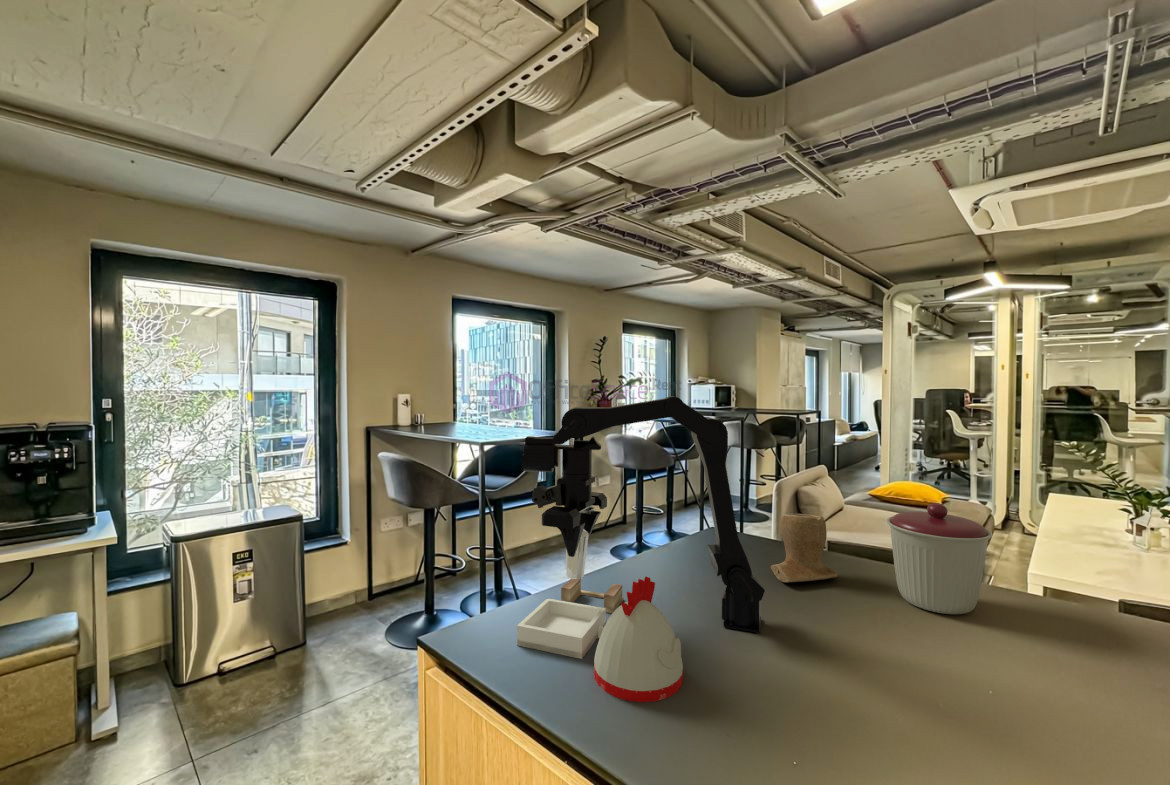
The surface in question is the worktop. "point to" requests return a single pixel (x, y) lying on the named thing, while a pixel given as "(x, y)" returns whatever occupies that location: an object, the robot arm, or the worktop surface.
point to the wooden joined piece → (593, 594)
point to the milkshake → (577, 559)
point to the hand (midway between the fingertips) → (576, 552)
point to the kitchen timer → (638, 650)
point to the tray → (561, 628)
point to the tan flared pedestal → (803, 549)
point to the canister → (938, 559)
